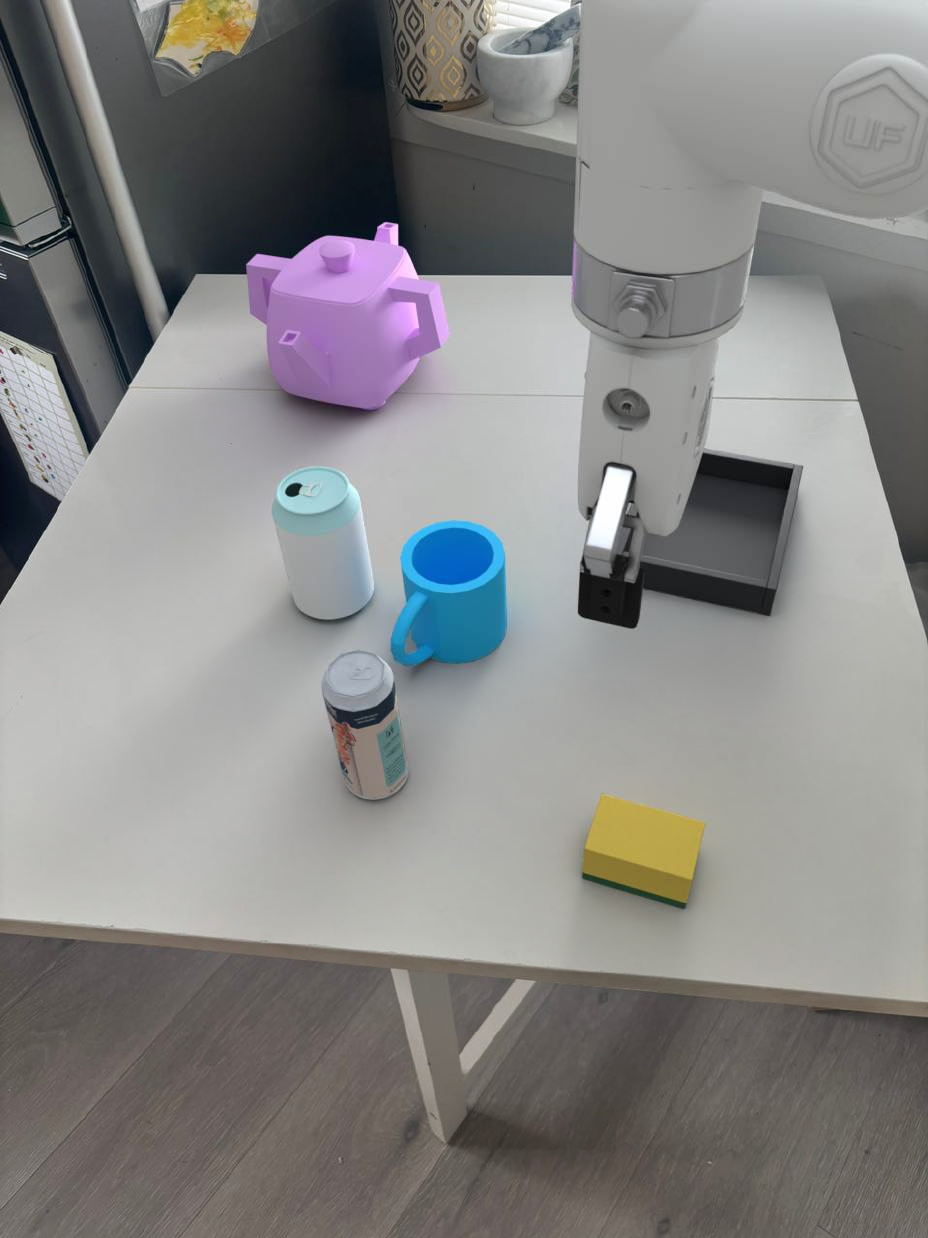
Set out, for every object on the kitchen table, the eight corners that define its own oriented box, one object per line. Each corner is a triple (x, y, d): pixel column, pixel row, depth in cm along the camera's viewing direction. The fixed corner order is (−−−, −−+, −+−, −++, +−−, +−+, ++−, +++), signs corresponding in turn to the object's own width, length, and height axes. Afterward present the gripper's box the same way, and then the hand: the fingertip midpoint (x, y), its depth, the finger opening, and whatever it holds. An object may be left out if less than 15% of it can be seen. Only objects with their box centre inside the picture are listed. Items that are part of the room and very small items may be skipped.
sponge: (698, 852, 68) (705, 822, 65) (684, 909, 65) (692, 880, 62) (598, 824, 70) (601, 793, 67) (581, 878, 67) (583, 848, 64)
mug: (448, 578, 87) (442, 507, 81) (526, 616, 83) (525, 544, 77) (360, 665, 81) (346, 595, 75) (439, 710, 77) (432, 641, 71)
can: (309, 635, 83) (283, 529, 74) (283, 583, 88) (256, 476, 79) (387, 607, 85) (370, 500, 76) (357, 556, 89) (339, 450, 80)
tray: (797, 491, 92) (803, 465, 90) (769, 616, 82) (776, 590, 80) (652, 464, 96) (655, 439, 94) (609, 581, 86) (611, 555, 83)
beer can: (348, 749, 75) (323, 644, 66) (411, 748, 75) (395, 644, 66) (341, 803, 72) (314, 701, 63) (406, 803, 72) (389, 701, 63)
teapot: (302, 449, 100) (274, 314, 89) (247, 362, 112) (217, 233, 101) (472, 394, 106) (465, 260, 95) (403, 316, 117) (390, 188, 106)
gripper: (708, 399, 36) (662, 690, 49) (777, 194, 47) (725, 476, 60) (514, 368, 38) (518, 655, 51) (623, 178, 49) (604, 454, 62)
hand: (630, 558), depth 55 cm, fingers open, 9 cm apart
